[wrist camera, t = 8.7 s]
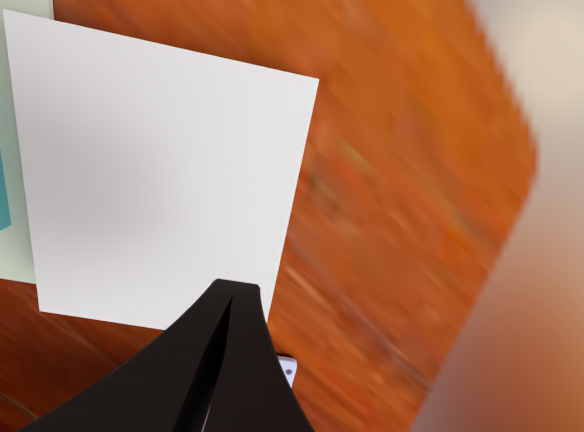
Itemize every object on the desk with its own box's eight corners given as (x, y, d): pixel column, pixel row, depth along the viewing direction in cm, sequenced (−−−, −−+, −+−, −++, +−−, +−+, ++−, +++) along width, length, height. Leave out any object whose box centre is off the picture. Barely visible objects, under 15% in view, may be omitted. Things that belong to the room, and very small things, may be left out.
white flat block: (266, 304, 21) (261, 344, 18) (80, 274, 20) (39, 311, 17) (313, 80, 16) (319, 79, 13) (65, 25, 15) (2, 8, 12)
